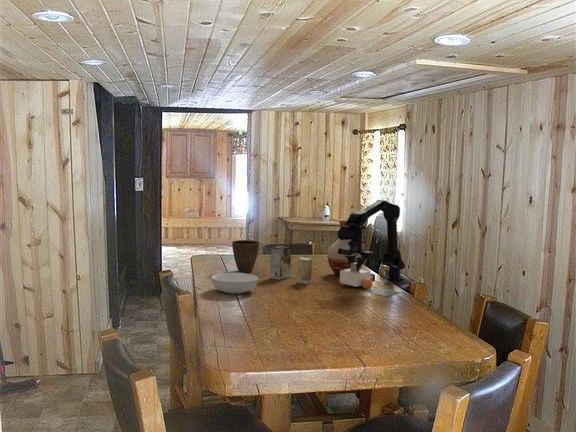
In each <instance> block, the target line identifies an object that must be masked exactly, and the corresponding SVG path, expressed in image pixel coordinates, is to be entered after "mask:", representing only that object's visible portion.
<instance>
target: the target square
mask: <svg viewBox="0 0 576 432" xmlns="http://www.w3.org/2000/svg"><path fill="white" fill-rule="evenodd" d="M364 293H366V294H372V295H376V296H381V297H384V298H387V297H390V296H393V295H397V294H401V292H400V291H395V290H391V289H387V288H381V287H377V288H373V289H372V288H371V289H367V290H364Z"/></svg>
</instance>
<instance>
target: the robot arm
mask: <svg viewBox="0 0 576 432" xmlns="http://www.w3.org/2000/svg"><path fill="white" fill-rule="evenodd" d="M380 211H381V212H382V214H383V215H382V216H383V218H384V220H385V221H386V229H387V231H386V233H387V236H386V237H387V249H386V252H384V253H383V256H384V257H383V261H384V263H385V267H386V268H389V269H388V277H386V278H385V279H387V280H389V281H391V280H392V281H395V282H396V281H401V280H400V276H401V277H402V275H401V273H402V272H401V271H402V270H403V269H405V267H406V264H405V262H404V261H403V259H402V253H401V252H400V251H399V249H398V225H397V224H398V220H399V218H400V216H401V208H400V206H399V205H398V204H393V203H391V202H389V201H387V200H385V199H377V200H376V201H375V202H373V203H372V204H370V205H369V206H367V207H366V208H363V209H362V210H356V211H353V212H352V213H350V214H349V217H348V218H347V219H346V220H347V222H346V224H345V226H341V229H340V228H339V229H338V231H337V237H338V239H340V240H350V241H349V242H348V245H346V246H344V247H343V248H339V249H338V254H343V255H344V256H345V257H346V258H347V259H348V261H349V264H350V267H351V263H353V262H355V257H356V255H359V256H358V257H357V258H356V259H357V271H359V270H361V267H362V266H363V264H364V262H365V261H366V260H370V259H375V256H376V255H375V253H374V251H369V250H366V251H364V250H365V249H364V248H363V249H362V243H364V244H365V240H364V241H362V238H363V233H364V232H363V231H364V230H367V228H366V227H365V226H364V225H365V224H366V223H367V222H368V219H369V218H371V217H372V216H374V215H376V214H377V213H379V212H380ZM358 253H359V254H358ZM353 254H354V255H353Z"/></svg>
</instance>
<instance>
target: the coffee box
mask: <svg viewBox="0 0 576 432" xmlns="http://www.w3.org/2000/svg"><path fill="white" fill-rule="evenodd" d="M291 251H292V250H291V246H288V245H287V246H286V245H278V246H272V247H270V272H269V273H270V277H269V278H271V279H274V280H279V281H280V280H284V279H287V278H290V277H291V256H292V255H291Z"/></svg>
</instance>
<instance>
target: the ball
mask: <svg viewBox="0 0 576 432" xmlns="http://www.w3.org/2000/svg"><path fill="white" fill-rule="evenodd" d="M372 286H373V281H372V279H370V278H369V279H364V280H363V281H362V286H361V287H362V288H363V289H364V290H371V289H372Z"/></svg>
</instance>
